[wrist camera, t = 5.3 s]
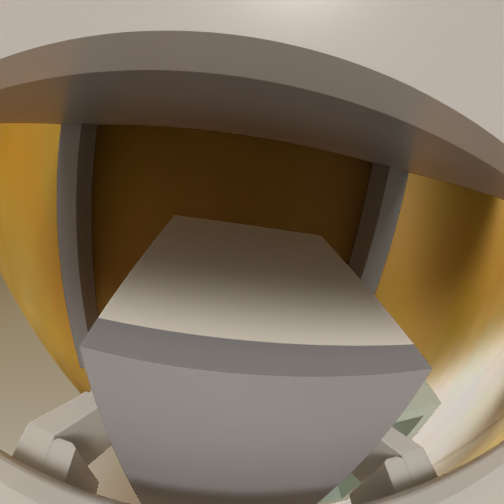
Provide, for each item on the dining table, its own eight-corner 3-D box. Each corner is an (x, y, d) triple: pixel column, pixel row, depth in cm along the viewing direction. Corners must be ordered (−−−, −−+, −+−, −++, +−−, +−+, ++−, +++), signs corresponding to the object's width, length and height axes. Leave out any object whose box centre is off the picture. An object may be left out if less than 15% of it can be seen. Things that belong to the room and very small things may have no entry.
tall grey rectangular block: (320, 235, 9) (432, 368, 3) (266, 418, 12) (281, 530, 6) (173, 215, 8) (79, 346, 3) (170, 409, 11) (154, 524, 6)
